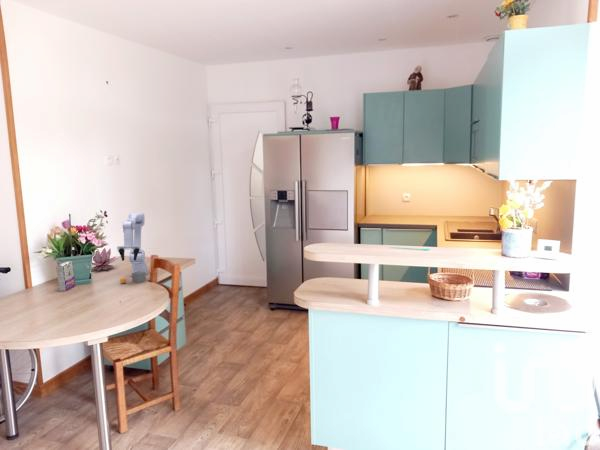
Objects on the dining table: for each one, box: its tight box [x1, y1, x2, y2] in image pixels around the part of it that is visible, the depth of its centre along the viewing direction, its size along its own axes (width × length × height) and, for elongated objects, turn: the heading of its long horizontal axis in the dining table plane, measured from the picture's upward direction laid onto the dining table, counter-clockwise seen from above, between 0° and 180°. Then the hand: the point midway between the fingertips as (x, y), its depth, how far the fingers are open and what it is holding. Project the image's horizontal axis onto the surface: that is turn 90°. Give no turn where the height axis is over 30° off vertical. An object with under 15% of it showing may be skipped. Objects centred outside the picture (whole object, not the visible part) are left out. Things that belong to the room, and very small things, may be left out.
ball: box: [119, 277, 127, 285], centre depth 292 cm, size 4×4×4 cm
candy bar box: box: [55, 261, 76, 292], centre depth 282 cm, size 11×5×16 cm, turn 179°
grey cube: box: [131, 271, 147, 284], centre depth 295 cm, size 6×6×6 cm
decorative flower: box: [91, 247, 117, 272], centre depth 329 cm, size 21×21×15 cm
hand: (129, 260), depth 288 cm, fingers open, 7 cm apart
